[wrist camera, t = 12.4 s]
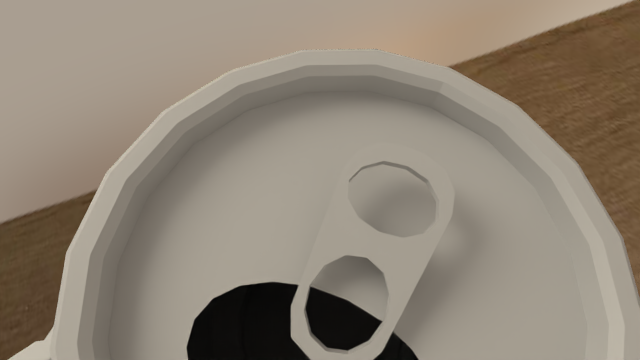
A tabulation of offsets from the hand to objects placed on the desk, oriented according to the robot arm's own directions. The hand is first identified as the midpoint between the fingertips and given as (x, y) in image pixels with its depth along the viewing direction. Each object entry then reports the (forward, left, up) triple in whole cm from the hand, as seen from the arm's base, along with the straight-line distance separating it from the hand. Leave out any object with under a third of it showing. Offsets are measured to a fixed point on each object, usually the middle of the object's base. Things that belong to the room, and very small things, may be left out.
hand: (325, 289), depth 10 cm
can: (0, -1, -7) cm, 7 cm away
